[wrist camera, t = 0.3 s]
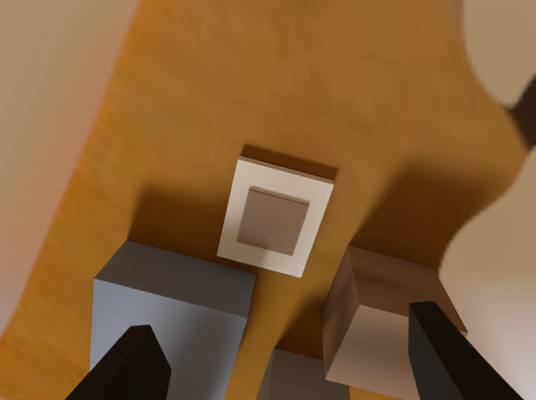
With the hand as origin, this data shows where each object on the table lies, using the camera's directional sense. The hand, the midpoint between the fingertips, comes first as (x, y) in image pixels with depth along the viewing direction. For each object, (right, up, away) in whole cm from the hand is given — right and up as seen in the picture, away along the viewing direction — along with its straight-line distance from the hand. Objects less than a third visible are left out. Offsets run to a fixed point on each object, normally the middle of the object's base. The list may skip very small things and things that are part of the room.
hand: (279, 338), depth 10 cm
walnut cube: (+6, -1, +11) cm, 13 cm away
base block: (-6, -3, +14) cm, 15 cm away
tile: (0, +3, +10) cm, 10 cm away
